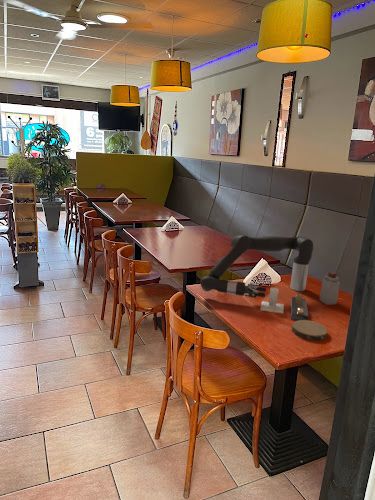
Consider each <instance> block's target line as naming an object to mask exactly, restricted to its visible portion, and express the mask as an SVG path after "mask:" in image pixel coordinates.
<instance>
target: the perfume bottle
mask: <svg viewBox="0 0 375 500" xmlns="http://www.w3.org/2000/svg"><path fill="white" fill-rule="evenodd" d="M337 275H338V273H336V272H334V271H329V272H328V273H327V274H326V275H324V277H325V278H324V277H323V278H322V281H321V289H320V293H319V302H322V303H323V304H324V305H326V306H328V305H330V306H331V305H337V302H338V297H339V293H340V286H341V282H340V281H339V279H340V278H339V277H338V276H337Z"/></svg>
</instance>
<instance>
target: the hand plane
mask: <svg viewBox="0 0 375 500" xmlns="http://www.w3.org/2000/svg"><path fill="white" fill-rule="evenodd" d="M290 297H291V298H290V320H292V321H298V320H308V318H309V311H308V304H307V302H308V301H307V298H303V293H300V292H299V293H296V295H295V296H290Z"/></svg>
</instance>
